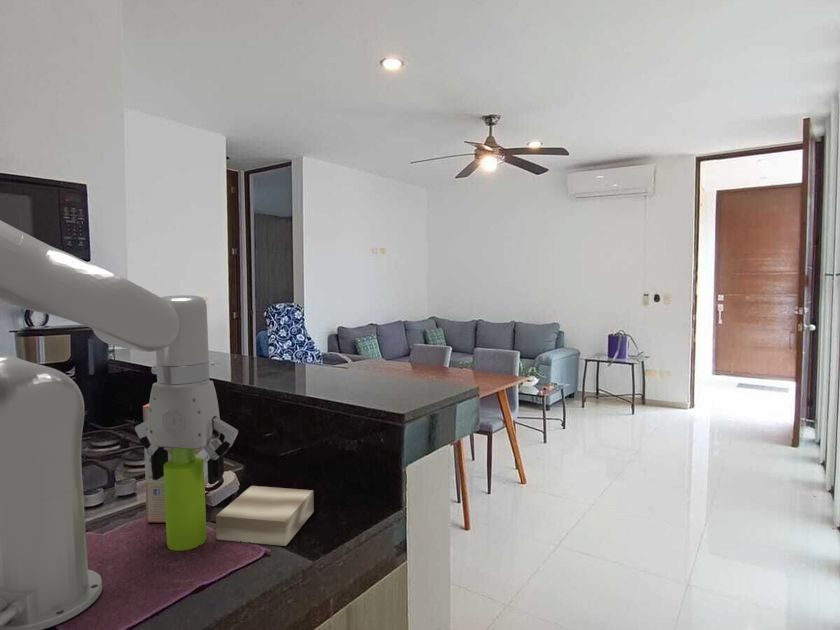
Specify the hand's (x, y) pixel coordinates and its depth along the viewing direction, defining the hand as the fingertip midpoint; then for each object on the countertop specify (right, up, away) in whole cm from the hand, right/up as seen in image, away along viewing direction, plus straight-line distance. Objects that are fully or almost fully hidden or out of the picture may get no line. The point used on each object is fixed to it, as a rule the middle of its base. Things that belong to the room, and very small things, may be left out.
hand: (188, 478), depth 85 cm
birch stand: (+11, -10, +6) cm, 16 cm away
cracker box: (-7, -9, +13) cm, 18 cm away
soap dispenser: (0, -11, +1) cm, 10 cm away
